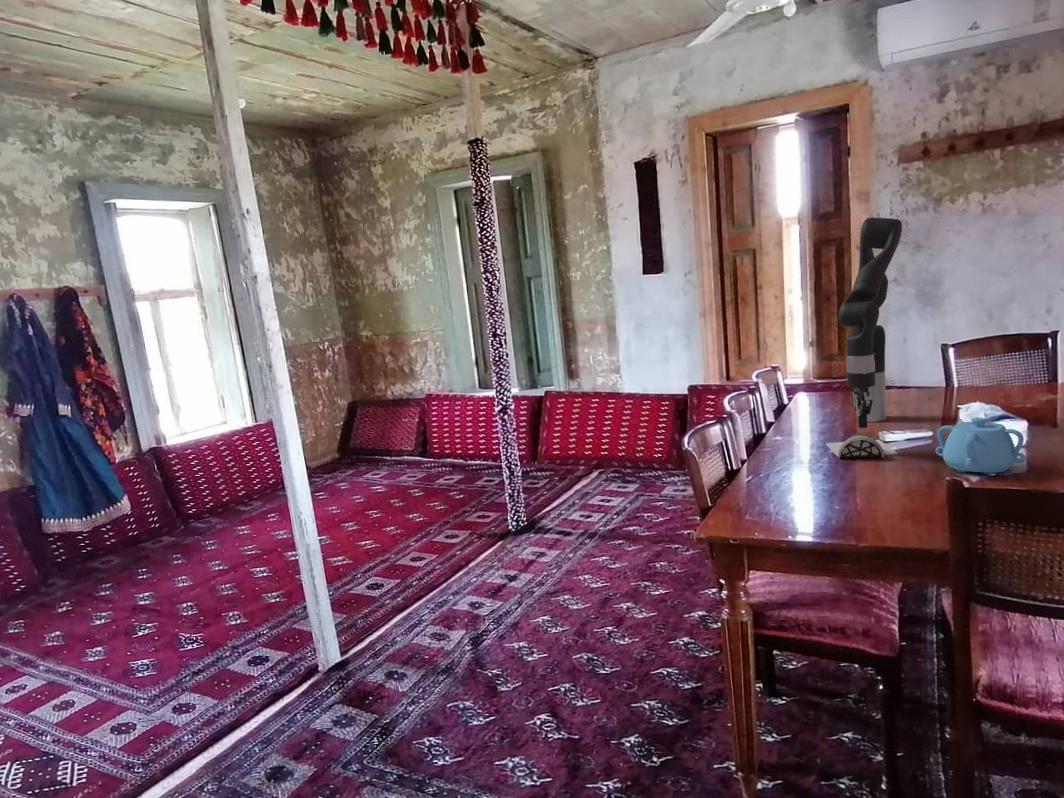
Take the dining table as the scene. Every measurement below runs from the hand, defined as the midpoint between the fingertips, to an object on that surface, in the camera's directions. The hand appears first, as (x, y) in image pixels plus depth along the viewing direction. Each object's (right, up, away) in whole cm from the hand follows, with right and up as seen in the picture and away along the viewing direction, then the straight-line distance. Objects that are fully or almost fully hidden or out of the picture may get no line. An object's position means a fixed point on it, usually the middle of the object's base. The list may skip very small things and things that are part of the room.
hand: (862, 427), depth 202 cm
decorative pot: (+18, -10, -24) cm, 32 cm away
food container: (0, -4, +3) cm, 5 cm away
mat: (+2, -7, +5) cm, 9 cm away
